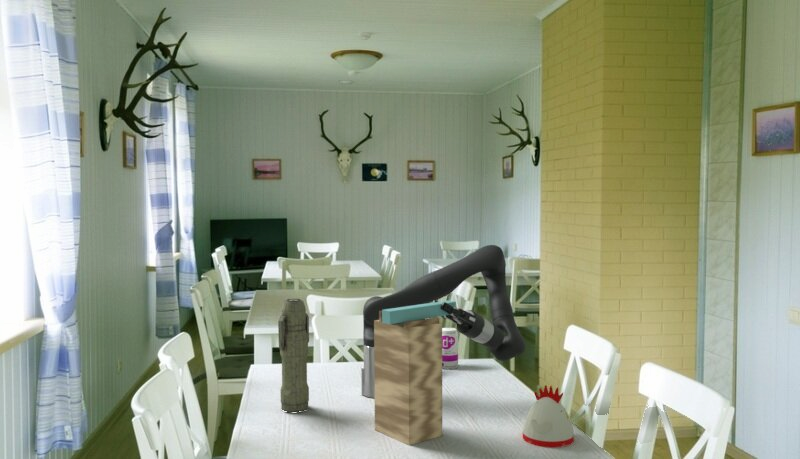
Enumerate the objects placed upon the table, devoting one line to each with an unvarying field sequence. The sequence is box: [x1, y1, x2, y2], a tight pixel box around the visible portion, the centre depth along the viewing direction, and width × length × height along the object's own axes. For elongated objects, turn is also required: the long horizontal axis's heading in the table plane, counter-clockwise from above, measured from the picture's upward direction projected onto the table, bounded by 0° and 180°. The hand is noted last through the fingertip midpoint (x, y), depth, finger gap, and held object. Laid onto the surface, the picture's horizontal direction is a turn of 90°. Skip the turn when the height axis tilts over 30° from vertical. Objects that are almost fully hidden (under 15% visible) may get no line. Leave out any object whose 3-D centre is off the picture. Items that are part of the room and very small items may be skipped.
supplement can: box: [442, 327, 459, 370], centre depth 282 cm, size 8×8×15 cm
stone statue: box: [277, 298, 310, 413], centre depth 228 cm, size 9×12×35 cm
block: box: [382, 299, 457, 324], centre depth 202 cm, size 24×4×4 cm, turn 128°
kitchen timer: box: [522, 384, 575, 448], centre depth 200 cm, size 14×14×15 cm
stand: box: [374, 311, 443, 446], centre depth 205 cm, size 12×16×35 cm
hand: (437, 304), depth 206 cm, fingers closed on block, 3 cm apart
